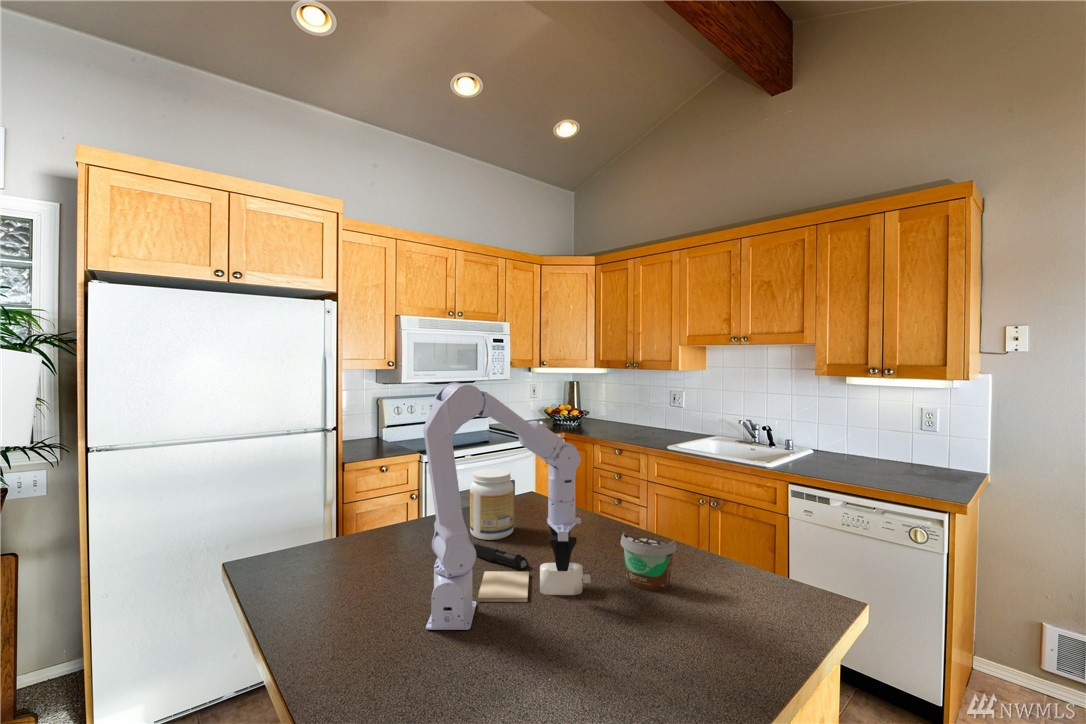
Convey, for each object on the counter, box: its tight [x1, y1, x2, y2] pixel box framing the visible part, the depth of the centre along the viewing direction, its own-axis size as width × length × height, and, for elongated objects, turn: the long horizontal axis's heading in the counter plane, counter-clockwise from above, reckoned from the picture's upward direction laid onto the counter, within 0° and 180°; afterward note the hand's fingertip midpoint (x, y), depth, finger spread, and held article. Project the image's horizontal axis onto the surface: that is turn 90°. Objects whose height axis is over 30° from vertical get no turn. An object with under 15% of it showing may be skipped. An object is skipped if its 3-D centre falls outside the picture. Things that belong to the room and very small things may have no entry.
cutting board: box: [477, 570, 530, 603], centre depth 104 cm, size 12×10×1 cm
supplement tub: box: [469, 468, 515, 541], centre depth 136 cm, size 12×12×17 cm
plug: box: [539, 562, 591, 596], centre depth 103 cm, size 11×4×5 cm, turn 90°
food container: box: [620, 531, 678, 592], centre depth 105 cm, size 12×6×10 cm, turn 62°
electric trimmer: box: [473, 543, 530, 571], centre depth 118 cm, size 4×16×3 cm, turn 56°
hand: (561, 562), depth 103 cm, fingers open, 7 cm apart
